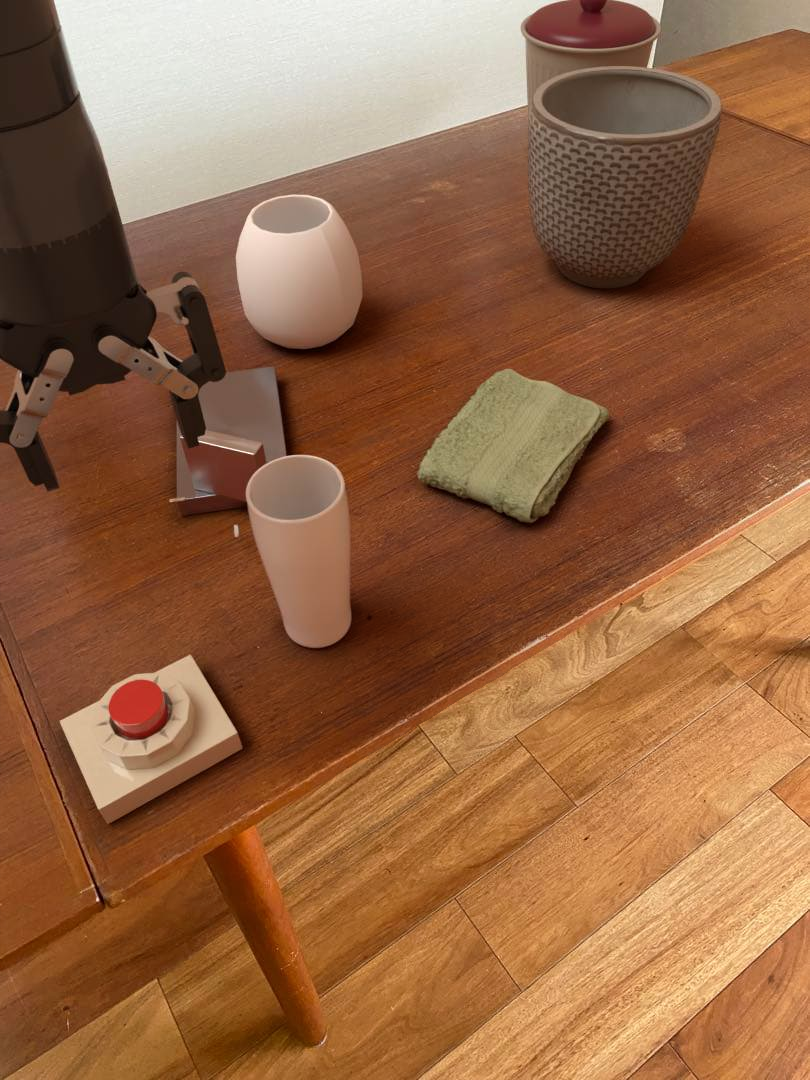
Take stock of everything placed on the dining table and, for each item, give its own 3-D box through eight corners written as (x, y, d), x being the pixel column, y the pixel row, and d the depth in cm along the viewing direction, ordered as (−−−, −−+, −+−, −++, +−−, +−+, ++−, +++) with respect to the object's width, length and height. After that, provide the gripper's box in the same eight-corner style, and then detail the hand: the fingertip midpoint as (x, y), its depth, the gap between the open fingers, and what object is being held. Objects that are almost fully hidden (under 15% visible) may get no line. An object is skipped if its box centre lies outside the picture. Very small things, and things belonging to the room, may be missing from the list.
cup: (310, 284, 103) (296, 172, 93) (389, 324, 97) (383, 209, 87) (223, 332, 97) (198, 217, 87) (302, 379, 90) (285, 261, 80)
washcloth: (613, 420, 84) (618, 393, 82) (537, 536, 74) (540, 510, 72) (492, 381, 89) (494, 355, 87) (405, 486, 79) (404, 459, 76)
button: (126, 748, 57) (119, 735, 56) (107, 709, 59) (100, 695, 58) (177, 721, 59) (171, 707, 57) (156, 684, 61) (150, 670, 59)
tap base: (306, 543, 74) (303, 526, 73) (174, 564, 73) (168, 546, 72) (283, 380, 90) (280, 363, 89) (174, 395, 89) (169, 378, 88)
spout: (273, 494, 76) (262, 440, 71) (265, 506, 75) (253, 452, 70) (203, 477, 77) (188, 423, 73) (194, 489, 76) (178, 434, 72)
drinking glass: (329, 578, 72) (308, 439, 61) (378, 628, 68) (366, 490, 57) (259, 619, 69) (225, 482, 58) (306, 674, 65) (279, 539, 54)
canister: (578, 117, 134) (595, -44, 118) (667, 155, 123) (698, -15, 108) (487, 149, 127) (493, -16, 111) (573, 193, 117) (593, 17, 101)
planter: (495, 240, 109) (503, 78, 95) (640, 216, 112) (668, 55, 98) (555, 325, 96) (574, 151, 82) (716, 294, 99) (762, 122, 85)
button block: (107, 824, 58) (89, 797, 55) (68, 736, 62) (50, 706, 59) (243, 748, 61) (233, 718, 58) (196, 670, 66) (185, 639, 63)
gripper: (-124, 275, 37) (12, 538, 49) (199, 201, 41) (253, 461, 53) (-131, 204, 42) (-6, 460, 53) (159, 145, 46) (216, 394, 57)
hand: (122, 460), depth 53 cm, fingers open, 8 cm apart
